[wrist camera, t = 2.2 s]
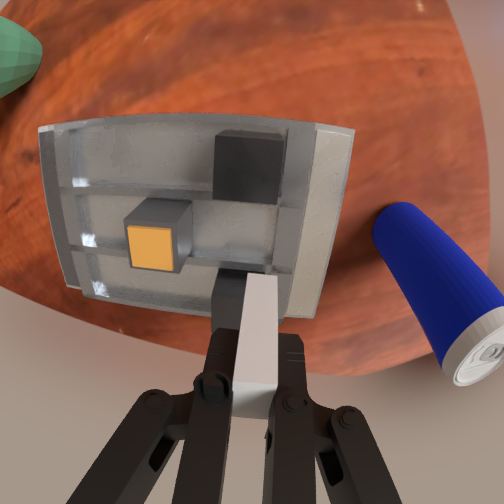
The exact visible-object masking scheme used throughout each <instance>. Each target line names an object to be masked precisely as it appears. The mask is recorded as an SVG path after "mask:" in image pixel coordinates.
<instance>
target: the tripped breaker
mask: <svg viewBox="0 0 504 504" xmlns="http://www.w3.org/2000/svg"><path fill="white" fill-rule="evenodd" d="M123 222H124V230H125V238H126V245H127V252H128V258H129V265H130V268H134V269H141V270H150V271H158V272H166V273H175V274H180V272H181V270H182V268H183V265H184V263H185V261H186V259H187V257H188V255H189V253H190V250H191V248H192V246H193V245H192V201H177V200H159V199H145V200H143V201H142V202H141V203H140V204H139V205H138V206H137V207H136V208H135V209H134V210H133V211H132V212H130V213H129V214H128V215H127V216H126V217H125V218H124V219H123Z"/></svg>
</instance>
